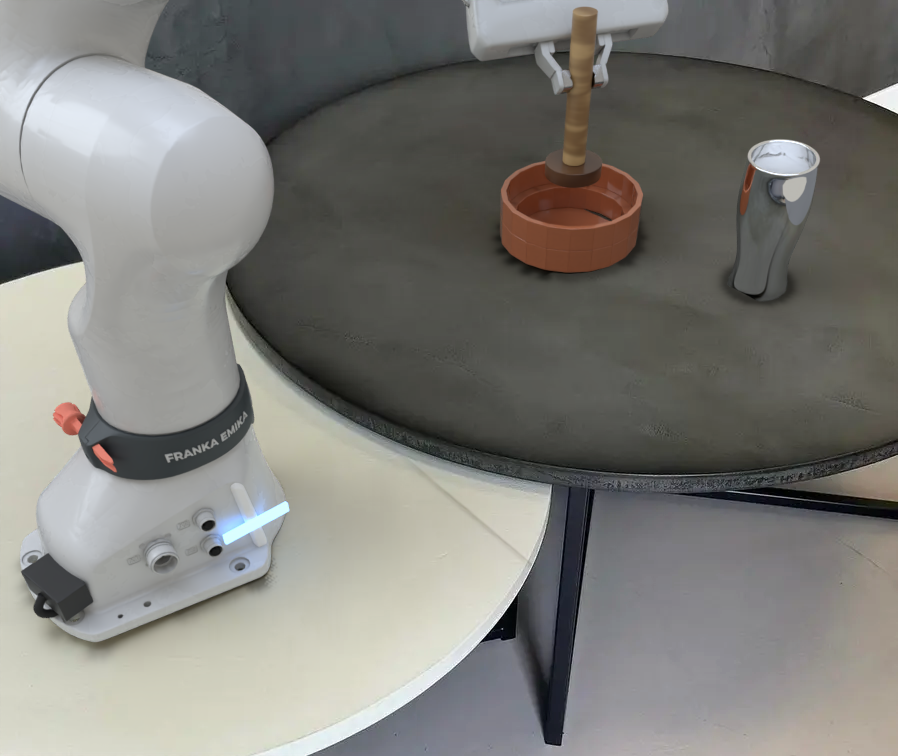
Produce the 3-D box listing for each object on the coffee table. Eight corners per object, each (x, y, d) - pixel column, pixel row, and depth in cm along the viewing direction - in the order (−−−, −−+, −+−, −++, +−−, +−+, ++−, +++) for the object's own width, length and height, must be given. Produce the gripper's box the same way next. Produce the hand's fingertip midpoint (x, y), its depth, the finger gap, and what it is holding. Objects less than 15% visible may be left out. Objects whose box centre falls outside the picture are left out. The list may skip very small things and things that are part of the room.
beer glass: (791, 311, 101) (824, 178, 90) (721, 306, 102) (745, 174, 91) (789, 271, 105) (820, 139, 94) (722, 267, 106) (745, 136, 95)
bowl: (566, 295, 104) (570, 245, 99) (472, 238, 112) (472, 189, 108) (664, 244, 110) (672, 194, 106) (568, 193, 118) (572, 145, 114)
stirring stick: (572, 194, 102) (585, 28, 90) (532, 173, 106) (540, 10, 94) (612, 175, 105) (630, 11, 93) (573, 155, 108) (585, -6, 96)
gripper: (458, -56, 92) (490, 90, 93) (658, -80, 96) (687, 61, 97) (446, -21, 99) (475, 116, 99) (634, -45, 102) (662, 88, 103)
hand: (582, 89), depth 98 cm, fingers closed on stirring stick, 2 cm apart
